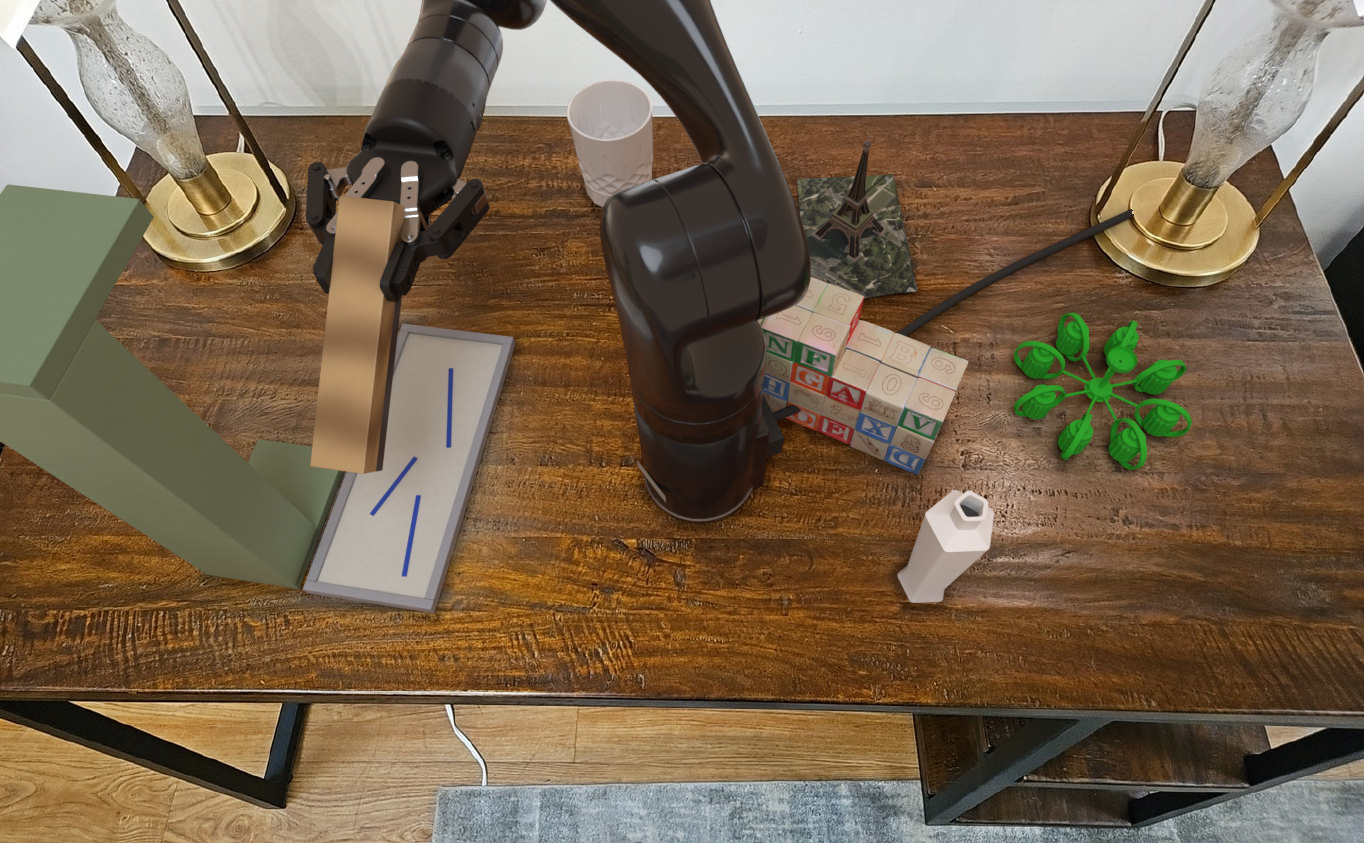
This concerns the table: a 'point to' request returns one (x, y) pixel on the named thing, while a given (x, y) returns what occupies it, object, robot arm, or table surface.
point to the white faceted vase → (947, 545)
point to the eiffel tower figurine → (856, 232)
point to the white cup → (612, 136)
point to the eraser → (358, 340)
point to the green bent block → (133, 403)
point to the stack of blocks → (857, 377)
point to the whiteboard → (415, 473)
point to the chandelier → (1102, 390)
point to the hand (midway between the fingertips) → (357, 290)
